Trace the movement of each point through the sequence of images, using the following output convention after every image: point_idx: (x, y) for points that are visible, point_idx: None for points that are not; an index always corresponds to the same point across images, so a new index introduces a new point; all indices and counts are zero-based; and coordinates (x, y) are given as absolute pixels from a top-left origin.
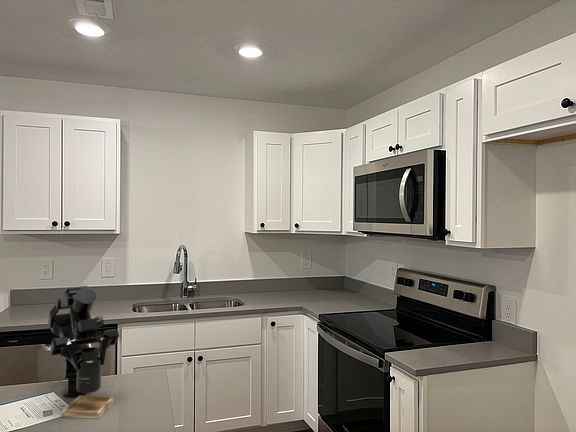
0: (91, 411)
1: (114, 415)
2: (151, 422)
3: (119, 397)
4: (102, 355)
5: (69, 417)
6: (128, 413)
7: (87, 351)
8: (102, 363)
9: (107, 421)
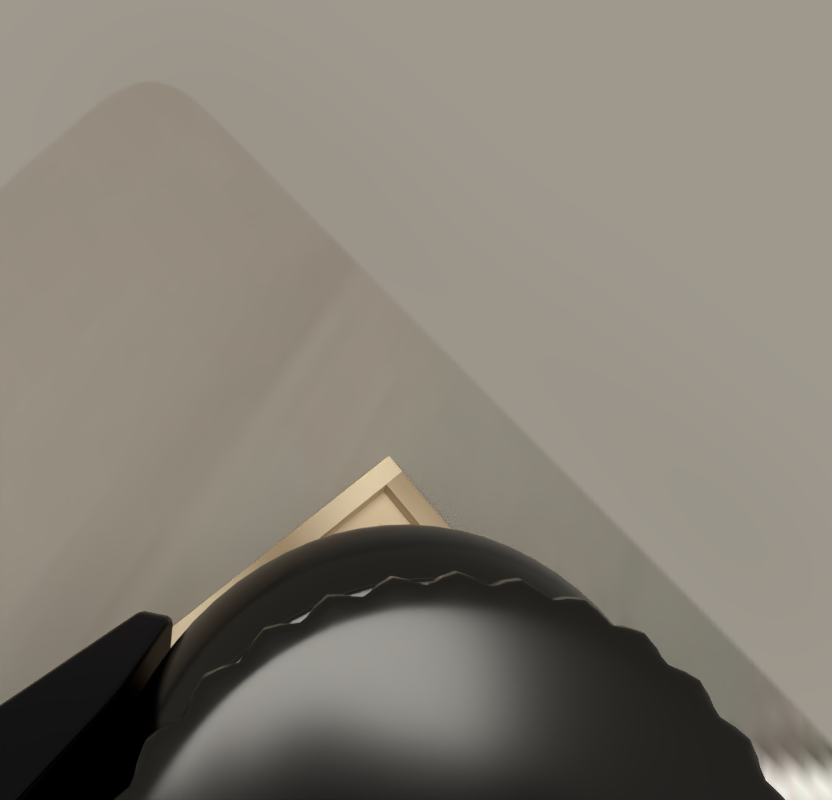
0: (426, 519)
1: (278, 433)
2: (178, 170)
3: None
4: (39, 752)
5: None
6: (188, 384)
7: (653, 786)
8: (165, 638)
9: (365, 387)
